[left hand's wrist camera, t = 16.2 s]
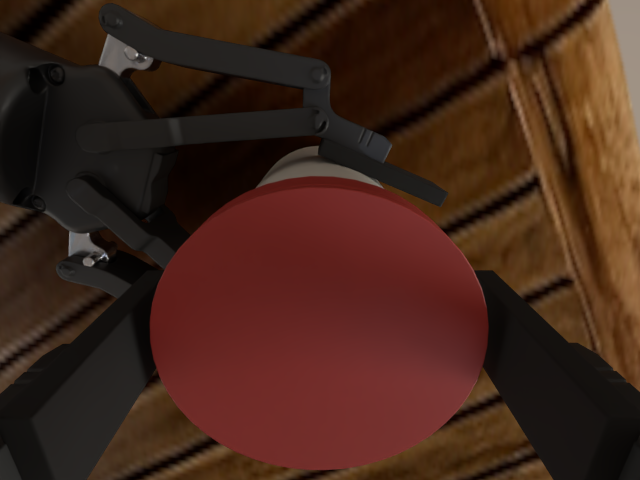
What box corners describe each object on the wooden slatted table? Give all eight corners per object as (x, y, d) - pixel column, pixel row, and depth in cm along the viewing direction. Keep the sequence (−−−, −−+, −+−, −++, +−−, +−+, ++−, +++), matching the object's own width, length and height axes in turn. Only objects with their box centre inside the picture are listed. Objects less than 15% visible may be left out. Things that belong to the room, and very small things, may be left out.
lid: (531, 288, 12) (563, 316, 10) (350, 466, 15) (354, 507, 13) (271, 103, 10) (262, 102, 8) (122, 353, 13) (95, 386, 11)
